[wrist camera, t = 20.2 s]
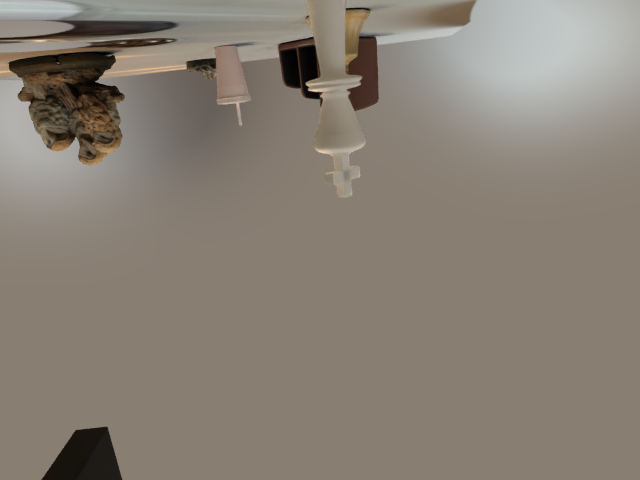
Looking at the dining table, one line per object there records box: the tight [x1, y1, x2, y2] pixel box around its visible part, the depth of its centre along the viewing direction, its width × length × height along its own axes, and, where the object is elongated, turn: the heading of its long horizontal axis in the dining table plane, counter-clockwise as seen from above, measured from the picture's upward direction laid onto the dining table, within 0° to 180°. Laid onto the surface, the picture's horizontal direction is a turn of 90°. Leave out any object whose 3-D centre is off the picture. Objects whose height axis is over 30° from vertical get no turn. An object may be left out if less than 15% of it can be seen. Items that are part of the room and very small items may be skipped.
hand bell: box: [306, 9, 370, 109], centre depth 68 cm, size 8×8×16 cm
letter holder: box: [278, 37, 379, 111], centre depth 103 cm, size 10×20×14 cm, turn 39°
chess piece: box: [306, 0, 366, 198], centre depth 19 cm, size 5×5×10 cm
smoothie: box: [216, 46, 251, 126], centre depth 93 cm, size 6×6×14 cm
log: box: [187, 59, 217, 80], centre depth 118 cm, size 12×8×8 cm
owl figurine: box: [9, 53, 125, 165], centre depth 82 cm, size 18×12×17 cm, turn 104°
